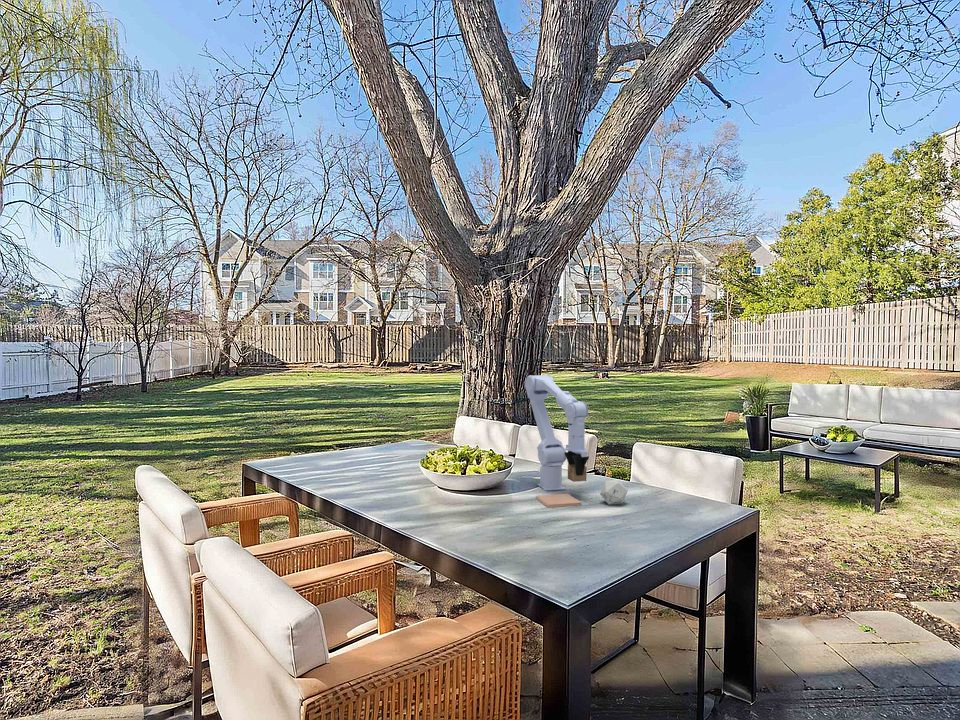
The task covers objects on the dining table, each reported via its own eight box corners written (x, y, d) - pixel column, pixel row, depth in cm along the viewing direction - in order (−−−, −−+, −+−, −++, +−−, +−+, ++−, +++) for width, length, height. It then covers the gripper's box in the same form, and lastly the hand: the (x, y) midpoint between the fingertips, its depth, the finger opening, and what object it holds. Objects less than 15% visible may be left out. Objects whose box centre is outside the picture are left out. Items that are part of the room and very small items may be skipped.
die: (595, 504, 200) (603, 486, 194) (601, 487, 207) (609, 469, 201) (618, 514, 198) (626, 496, 193) (623, 497, 205) (632, 479, 199)
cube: (567, 478, 210) (567, 464, 209) (580, 477, 211) (580, 464, 211) (573, 481, 205) (573, 467, 205) (586, 480, 206) (586, 466, 206)
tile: (536, 498, 206) (536, 495, 206) (567, 496, 209) (567, 493, 209) (547, 507, 194) (547, 504, 194) (581, 505, 197) (581, 502, 197)
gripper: (558, 433, 213) (558, 469, 214) (574, 439, 199) (574, 478, 200) (575, 432, 215) (575, 468, 215) (593, 438, 201) (593, 477, 201)
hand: (576, 473), depth 208 cm, fingers closed on cube, 5 cm apart
